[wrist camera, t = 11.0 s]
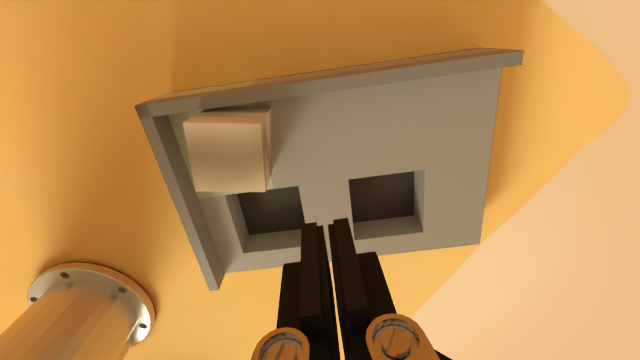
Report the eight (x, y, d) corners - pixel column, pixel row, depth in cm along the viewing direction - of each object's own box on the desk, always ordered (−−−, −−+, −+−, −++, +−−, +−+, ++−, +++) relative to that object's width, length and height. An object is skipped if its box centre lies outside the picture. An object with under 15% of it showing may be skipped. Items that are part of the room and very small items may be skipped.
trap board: (464, 224, 29) (491, 259, 24) (225, 252, 30) (209, 290, 25) (480, 47, 22) (523, 50, 17) (169, 92, 23) (134, 106, 19)
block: (274, 165, 23) (265, 192, 19) (216, 164, 23) (195, 191, 19) (271, 107, 21) (260, 124, 17) (208, 106, 21) (182, 122, 17)
